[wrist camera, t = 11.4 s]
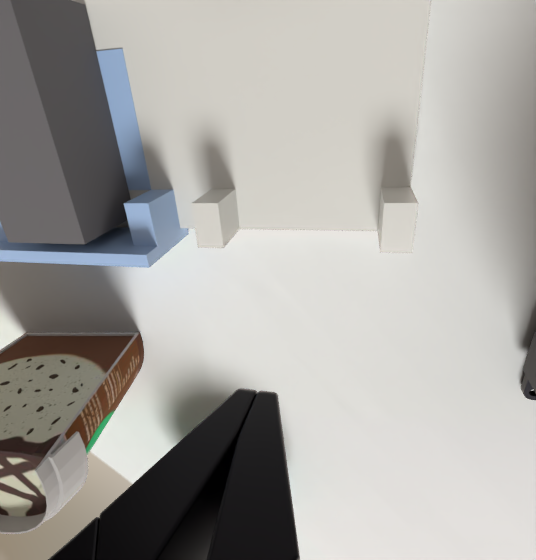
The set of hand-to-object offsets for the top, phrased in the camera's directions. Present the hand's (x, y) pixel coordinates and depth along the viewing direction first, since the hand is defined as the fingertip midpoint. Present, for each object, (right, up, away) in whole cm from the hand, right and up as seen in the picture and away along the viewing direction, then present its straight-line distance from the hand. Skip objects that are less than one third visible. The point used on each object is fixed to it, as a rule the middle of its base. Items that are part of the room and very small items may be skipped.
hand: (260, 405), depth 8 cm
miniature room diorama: (-4, +11, +9) cm, 15 cm away
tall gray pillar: (-9, +10, +10) cm, 17 cm away
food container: (-12, -4, +19) cm, 23 cm away
